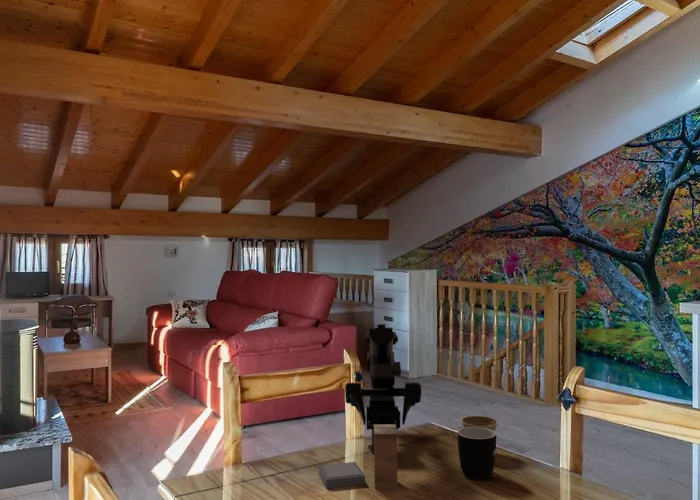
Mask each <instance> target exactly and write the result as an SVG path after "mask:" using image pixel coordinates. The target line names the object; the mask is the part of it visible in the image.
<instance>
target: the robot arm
mask: <svg viewBox="0 0 700 500" xmlns="http://www.w3.org/2000/svg"><path fill="white" fill-rule="evenodd" d="M398 342H399V336H398V335H397V333H396V332H395V331H393V327H386V324H385V323H384V324H380V323H379V324H377V327H369V331H366V345H367V346H369V350H368V352H367V354H366V355H367V356H366V358H367V361H366V362H367V363H366V364H367V365H366V366H367V368H366V369H367V372H366V373H369V379H370V380H371V381H370V383H371V384H370V385H371V387H362V382H347V383H346V384H345V386H344V387H345V389H344V394H345V403H346V404H347V405H348V404H350V406H351V407H354V408H356V410H357V412H358V414H359V416H360V419H361V421H362V423H363V426H366V431H367V430H368V431H369V430H371V444H370V445H367V448H368V449H369V451H370V452H371V453H372V454H373V455H374V425H385V424H396V428H397V431H398V430H399V429H400V428H401V423H402V425H403V426H405V423H406V420H407V416H408V414H409V412H410V409H411V407H414V406H416V404H419V403H421V398H422V385H421V384H420V383H419V382H418V381H414V382H413V381H412V382H411V381H410V382H407V381H405V382H404V387H395V385H396V382H395V381H396V379H395V377H401V372H402V369H401V368H402V367H401V366H402V365H401V361H395V352H394V346H395V345H396V344H397V343H398ZM364 397H369V399H368V406H367V405H366V410H365V404H364ZM395 397H403V406H402V413H401V411H400V409H399V407H398V405H396V401H395ZM401 414H402V416H401ZM401 417H402V418H401ZM401 421H402V422H401Z"/></svg>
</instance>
